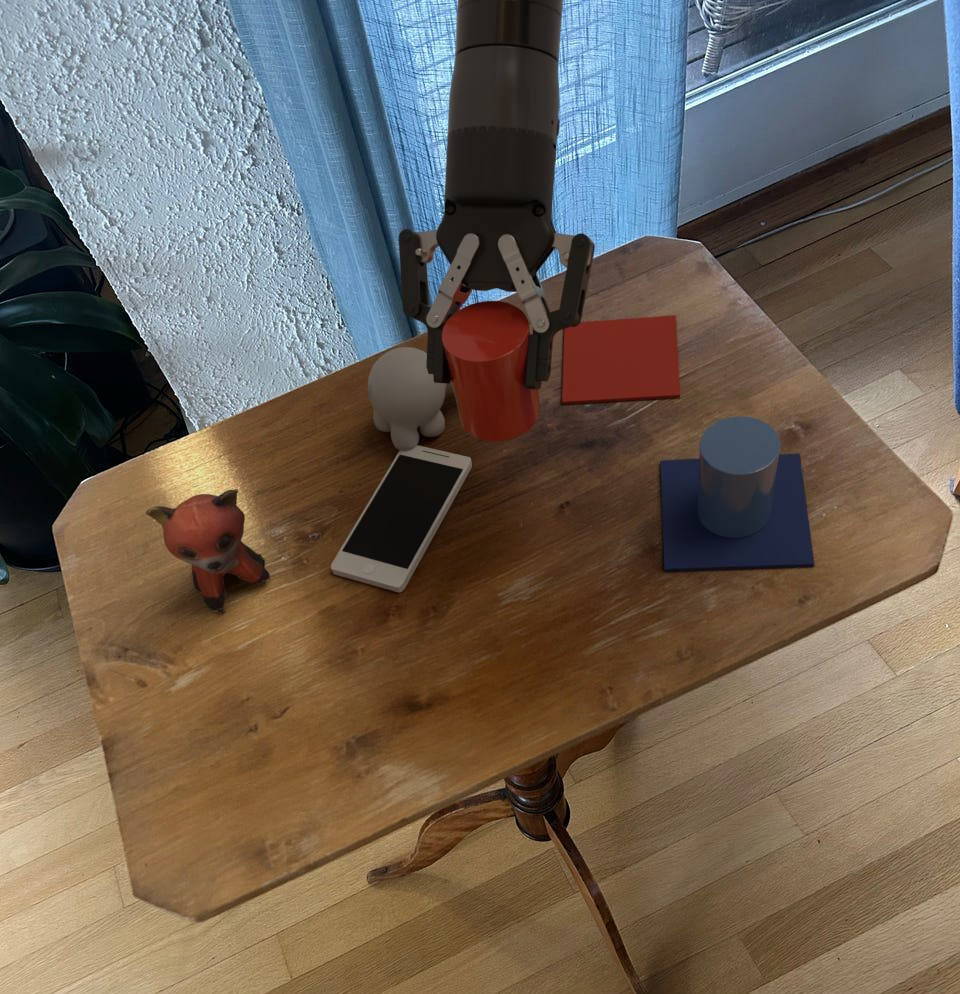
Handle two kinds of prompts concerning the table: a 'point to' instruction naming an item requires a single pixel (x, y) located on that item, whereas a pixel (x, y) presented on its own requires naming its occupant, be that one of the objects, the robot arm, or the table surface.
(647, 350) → the red mat
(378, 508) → the smartphone
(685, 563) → the blue mat
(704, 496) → the grey-blue cylinder
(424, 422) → the toy rhinoceros
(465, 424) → the red cylinder
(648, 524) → the table surface
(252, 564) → the stuffed fox
